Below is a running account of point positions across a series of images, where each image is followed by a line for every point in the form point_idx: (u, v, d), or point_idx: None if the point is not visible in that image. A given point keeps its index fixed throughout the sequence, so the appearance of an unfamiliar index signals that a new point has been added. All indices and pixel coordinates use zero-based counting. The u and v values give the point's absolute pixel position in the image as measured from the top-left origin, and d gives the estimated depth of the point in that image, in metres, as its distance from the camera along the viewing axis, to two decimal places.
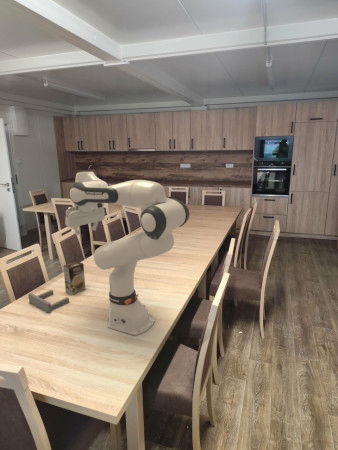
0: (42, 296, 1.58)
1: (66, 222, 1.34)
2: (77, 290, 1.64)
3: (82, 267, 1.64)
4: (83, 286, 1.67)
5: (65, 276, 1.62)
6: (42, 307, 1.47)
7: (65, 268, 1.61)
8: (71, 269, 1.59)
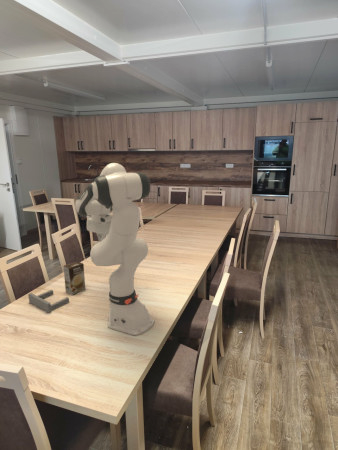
0: (42, 296, 1.58)
1: None
2: (77, 290, 1.64)
3: (82, 267, 1.64)
4: (83, 286, 1.67)
5: (65, 276, 1.62)
6: (42, 307, 1.47)
7: (65, 268, 1.61)
8: (71, 269, 1.59)
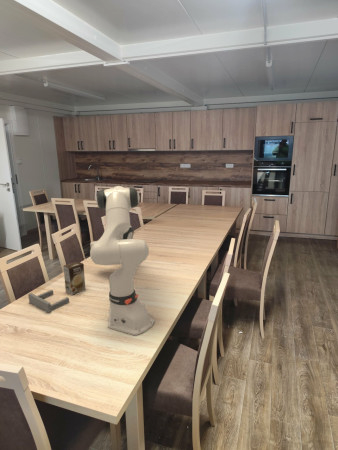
0: (42, 296, 1.58)
1: None
2: (77, 290, 1.64)
3: (82, 267, 1.64)
4: (83, 286, 1.67)
5: (65, 276, 1.62)
6: (42, 307, 1.47)
7: (65, 268, 1.61)
8: (71, 269, 1.59)
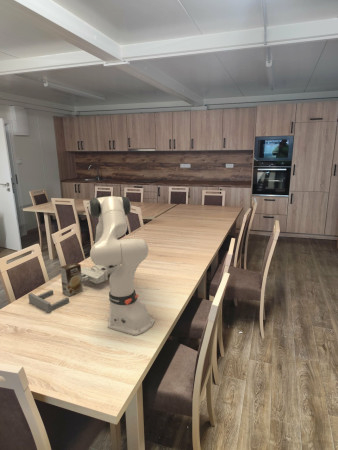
0: (42, 296, 1.58)
1: None
2: (75, 291, 1.63)
3: (79, 268, 1.63)
4: (80, 287, 1.65)
5: (62, 277, 1.61)
6: (42, 307, 1.47)
7: (62, 269, 1.59)
8: (68, 270, 1.57)
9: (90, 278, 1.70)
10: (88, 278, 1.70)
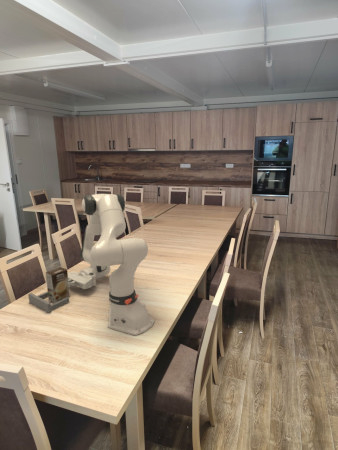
0: (42, 296, 1.58)
1: None
2: (61, 297, 1.56)
3: (66, 273, 1.56)
4: (67, 293, 1.59)
5: (48, 283, 1.54)
6: (42, 307, 1.47)
7: (47, 275, 1.52)
8: (54, 276, 1.50)
9: (77, 283, 1.63)
10: (75, 283, 1.63)
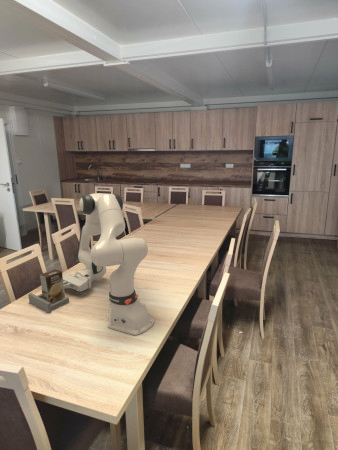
0: None
1: None
2: (56, 300, 1.54)
3: (61, 275, 1.54)
4: (62, 295, 1.56)
5: (42, 285, 1.51)
6: (42, 307, 1.47)
7: (42, 277, 1.50)
8: (48, 278, 1.48)
9: (73, 285, 1.60)
10: (70, 285, 1.61)
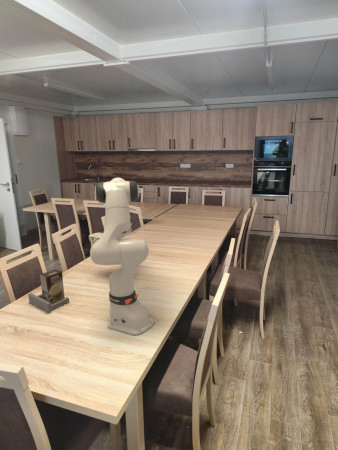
0: None
1: None
2: (56, 300, 1.54)
3: (61, 275, 1.54)
4: (62, 295, 1.56)
5: (42, 285, 1.51)
6: (42, 307, 1.47)
7: (42, 277, 1.50)
8: (48, 278, 1.48)
9: None
10: None
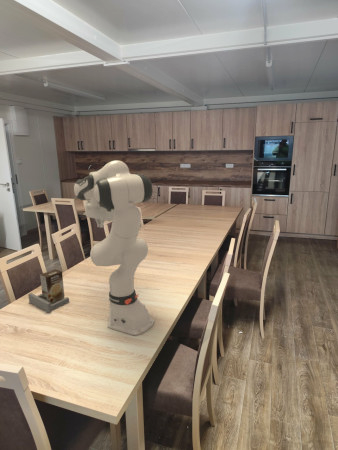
0: None
1: None
2: (56, 300, 1.54)
3: (61, 275, 1.54)
4: (62, 295, 1.56)
5: (42, 285, 1.51)
6: (42, 307, 1.47)
7: (42, 277, 1.50)
8: (48, 278, 1.48)
9: None
10: None
